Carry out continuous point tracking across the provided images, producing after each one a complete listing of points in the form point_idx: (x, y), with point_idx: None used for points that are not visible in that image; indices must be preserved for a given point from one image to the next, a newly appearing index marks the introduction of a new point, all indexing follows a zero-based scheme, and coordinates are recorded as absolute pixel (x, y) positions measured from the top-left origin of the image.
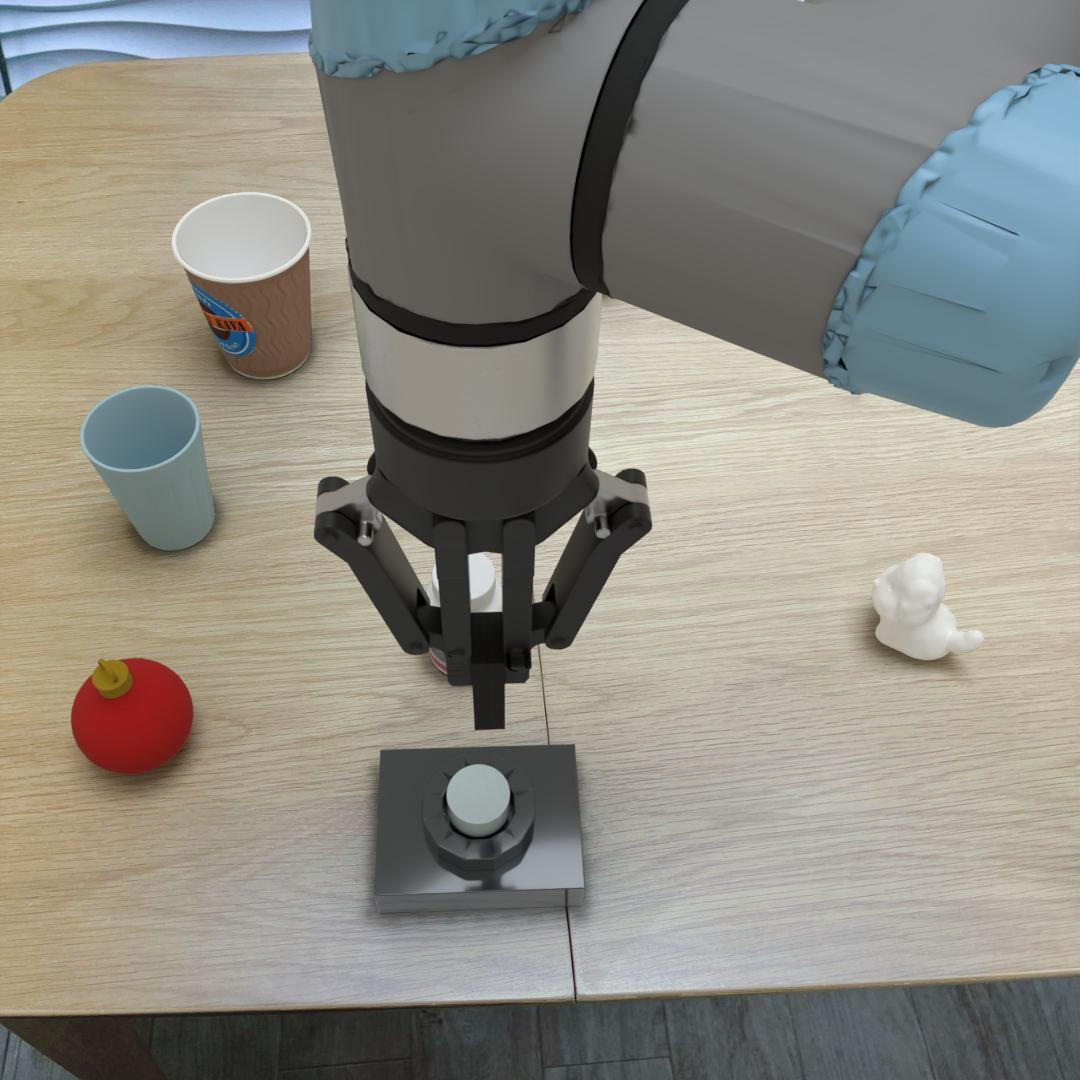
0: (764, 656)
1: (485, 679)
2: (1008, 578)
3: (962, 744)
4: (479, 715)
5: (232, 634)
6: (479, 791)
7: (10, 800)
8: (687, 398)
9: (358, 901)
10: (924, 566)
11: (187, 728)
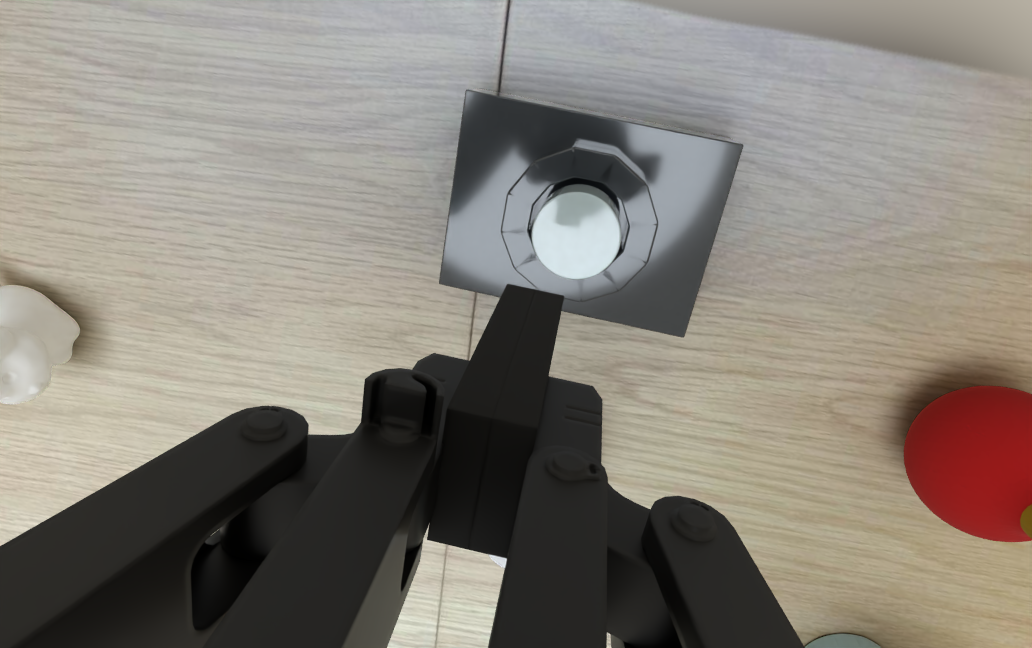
0: (210, 338)
1: (512, 380)
2: None
3: (7, 180)
4: (548, 314)
5: (814, 521)
6: (573, 239)
7: None
8: None
9: (751, 159)
10: None
11: (926, 427)
